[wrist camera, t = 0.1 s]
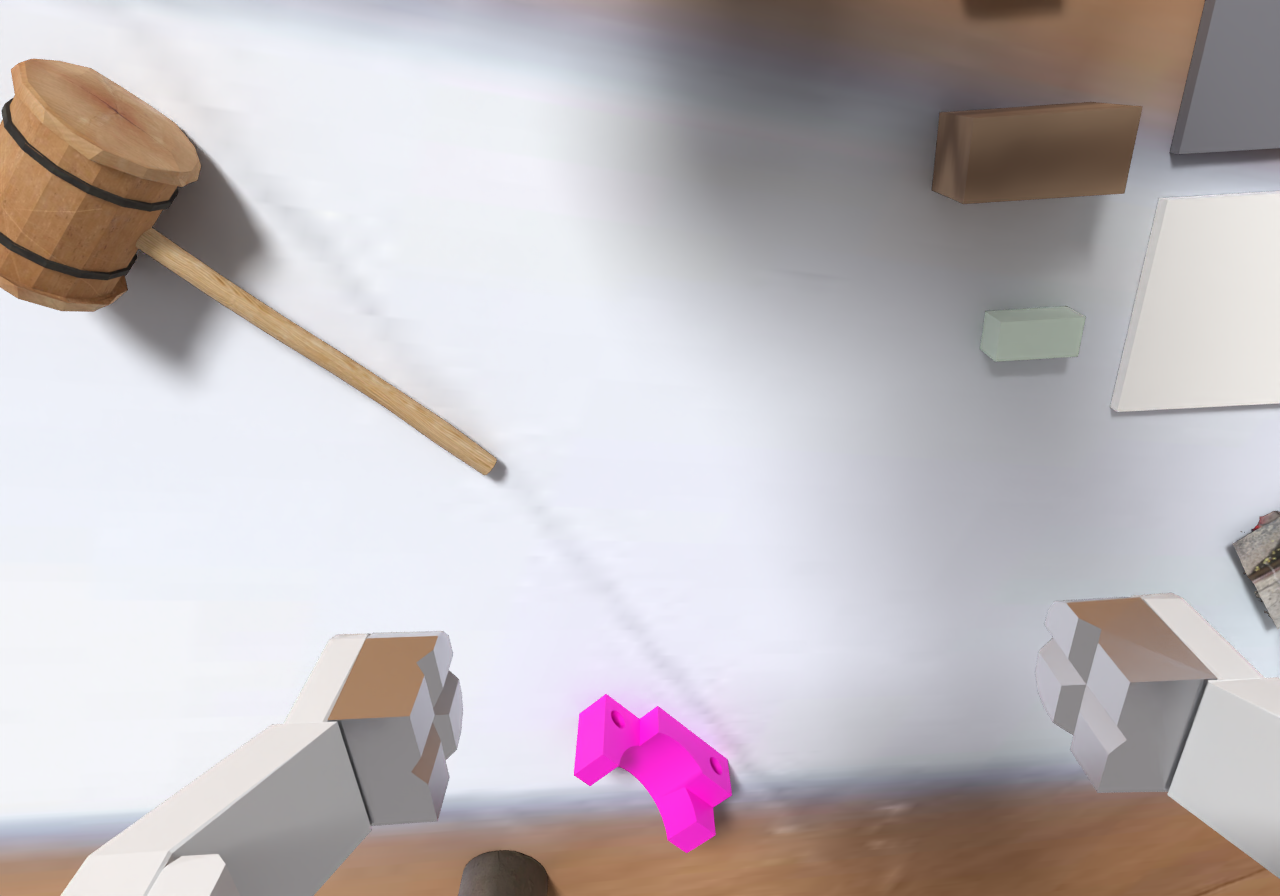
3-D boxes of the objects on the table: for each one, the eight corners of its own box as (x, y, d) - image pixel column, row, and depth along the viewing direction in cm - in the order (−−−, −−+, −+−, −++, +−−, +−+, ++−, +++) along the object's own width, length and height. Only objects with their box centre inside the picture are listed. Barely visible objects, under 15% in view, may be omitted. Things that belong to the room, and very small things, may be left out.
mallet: (452, 481, 68) (437, 552, 60) (0, 192, 53) (-107, 232, 44) (539, 387, 64) (536, 449, 56) (78, 44, 49) (-23, 58, 40)
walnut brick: (938, 112, 52) (973, 118, 46) (1089, 102, 51) (1142, 106, 46) (931, 189, 54) (963, 204, 48) (1075, 180, 54) (1124, 193, 48)
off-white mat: (1158, 198, 54) (1167, 200, 53) (1391, 184, 54) (1404, 186, 53) (1110, 406, 61) (1117, 412, 60) (1315, 395, 61) (1325, 400, 60)
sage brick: (979, 348, 59) (995, 361, 56) (984, 310, 58) (1001, 322, 55) (1057, 343, 59) (1078, 356, 56) (1064, 305, 58) (1085, 316, 55)
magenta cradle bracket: (727, 758, 79) (735, 822, 72) (682, 787, 81) (686, 853, 74) (624, 678, 74) (622, 739, 67) (579, 712, 76) (573, 775, 69)
